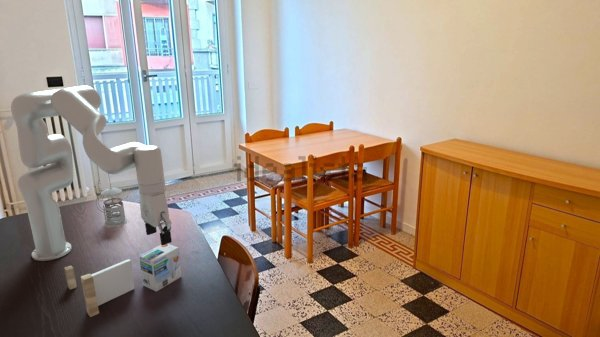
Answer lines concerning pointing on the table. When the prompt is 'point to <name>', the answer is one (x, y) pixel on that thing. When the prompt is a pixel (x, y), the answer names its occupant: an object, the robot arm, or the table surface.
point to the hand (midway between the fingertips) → (158, 238)
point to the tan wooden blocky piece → (84, 289)
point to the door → (113, 281)
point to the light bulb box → (160, 266)
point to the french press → (116, 218)
